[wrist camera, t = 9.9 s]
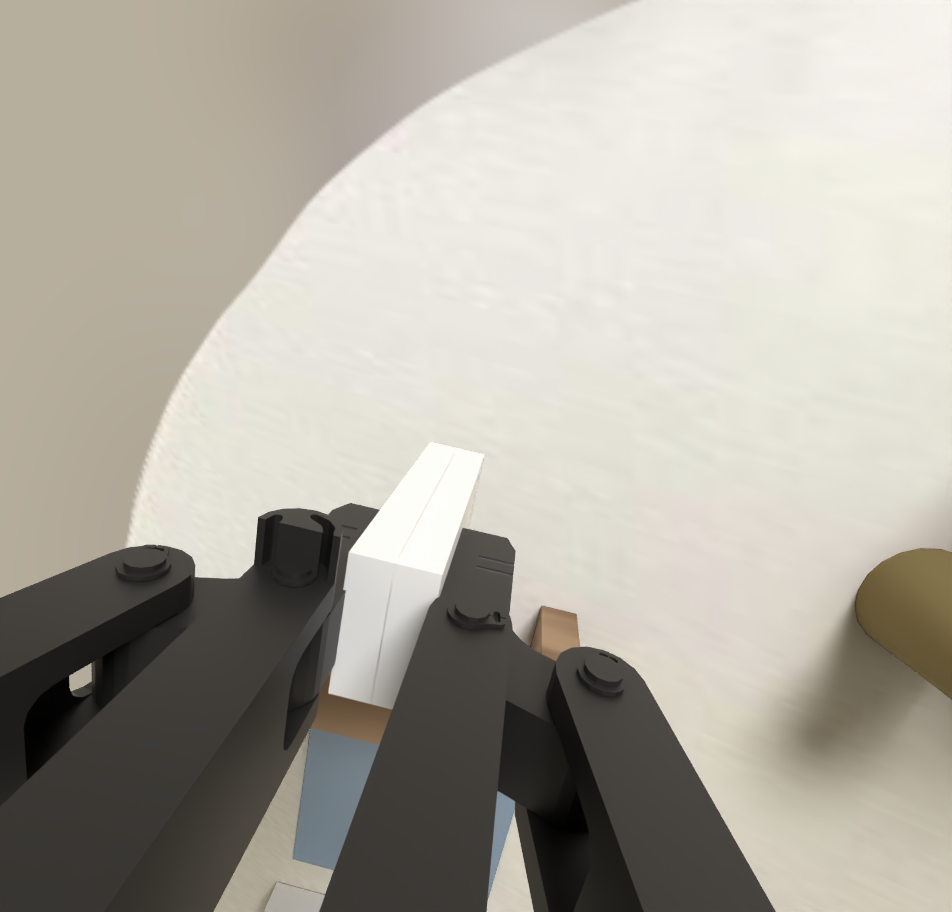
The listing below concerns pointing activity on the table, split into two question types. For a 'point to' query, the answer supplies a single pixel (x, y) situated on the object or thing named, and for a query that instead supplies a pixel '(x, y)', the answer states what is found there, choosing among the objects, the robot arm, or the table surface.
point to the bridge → (371, 720)
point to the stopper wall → (293, 899)
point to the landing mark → (352, 799)
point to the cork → (912, 611)
